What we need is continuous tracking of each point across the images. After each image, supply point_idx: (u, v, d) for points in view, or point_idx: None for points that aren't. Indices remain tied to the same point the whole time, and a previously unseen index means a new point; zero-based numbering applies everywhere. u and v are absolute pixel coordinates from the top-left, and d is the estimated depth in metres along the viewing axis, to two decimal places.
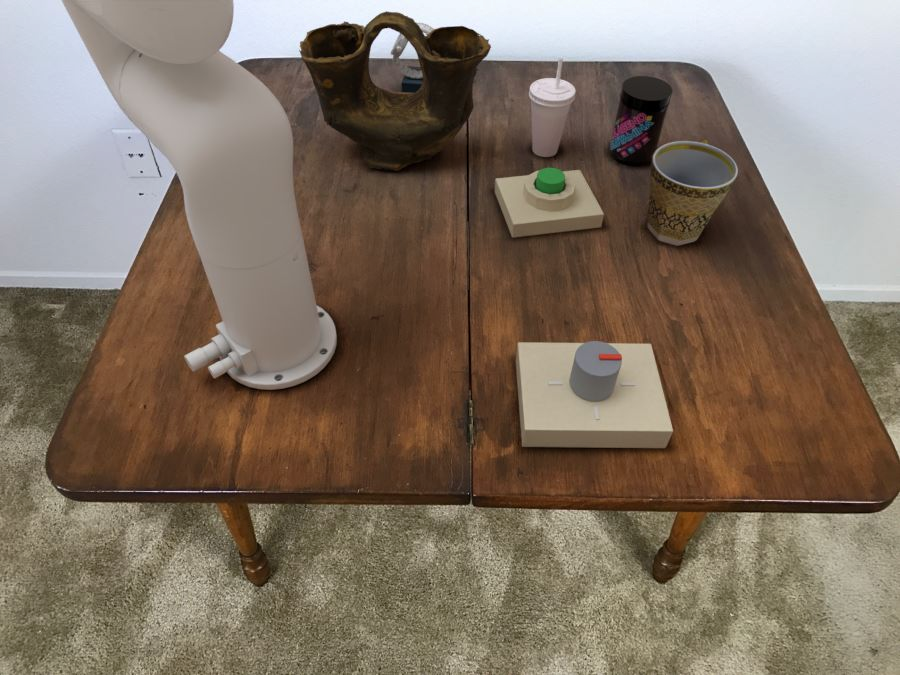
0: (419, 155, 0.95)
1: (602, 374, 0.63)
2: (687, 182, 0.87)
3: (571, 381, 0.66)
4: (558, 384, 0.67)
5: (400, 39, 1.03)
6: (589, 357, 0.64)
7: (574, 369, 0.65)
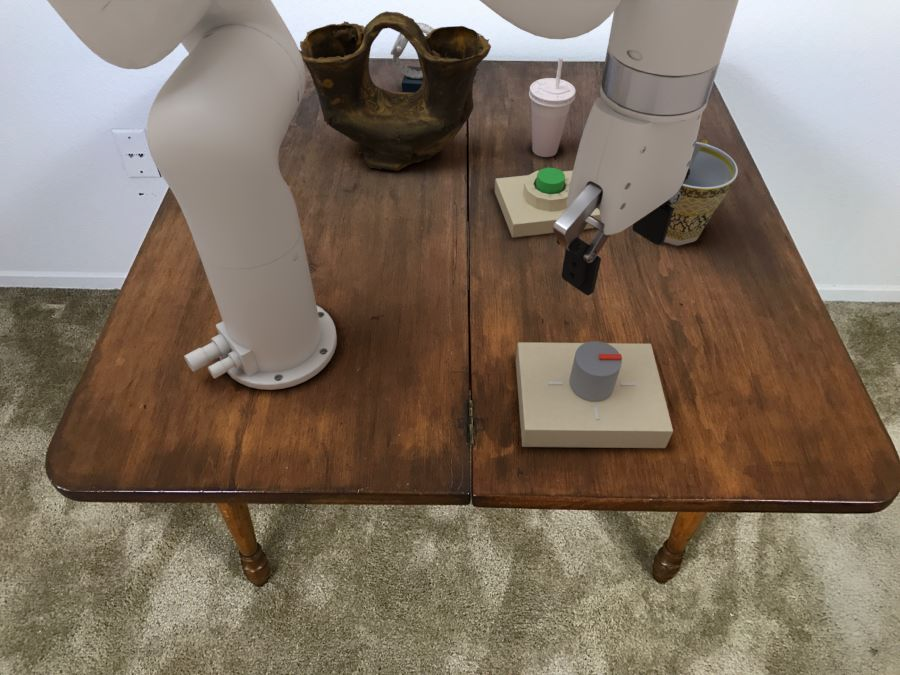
0: (419, 155, 0.95)
1: (602, 374, 0.63)
2: (687, 182, 0.87)
3: (571, 381, 0.66)
4: (558, 384, 0.67)
5: (400, 39, 1.03)
6: (589, 357, 0.64)
7: (574, 369, 0.65)
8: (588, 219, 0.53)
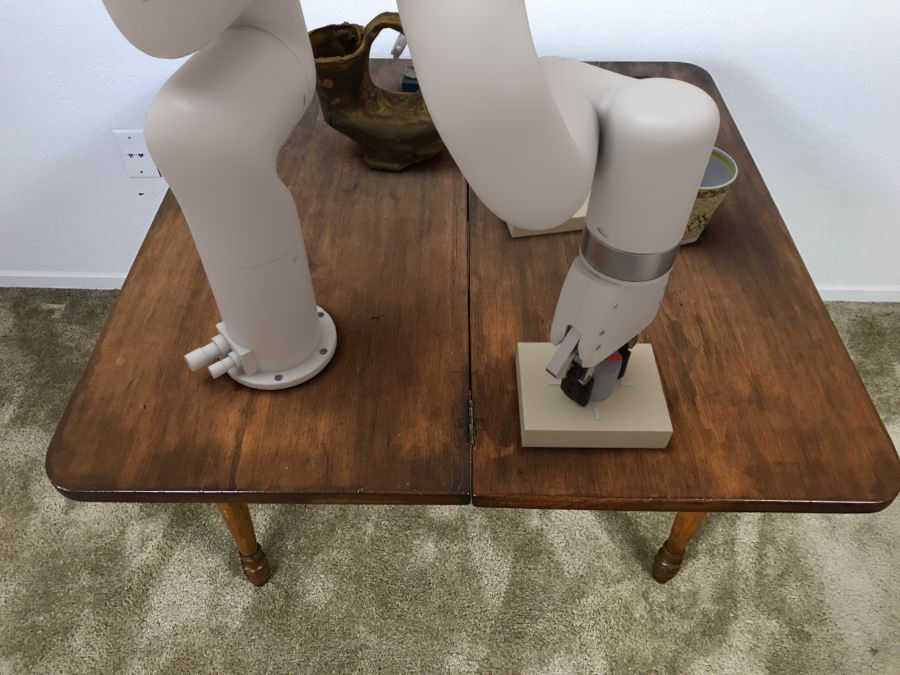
0: (419, 155, 0.95)
1: (602, 374, 0.63)
2: None
3: None
4: (558, 384, 0.67)
5: (400, 39, 1.03)
6: None
7: None
8: (576, 351, 0.61)
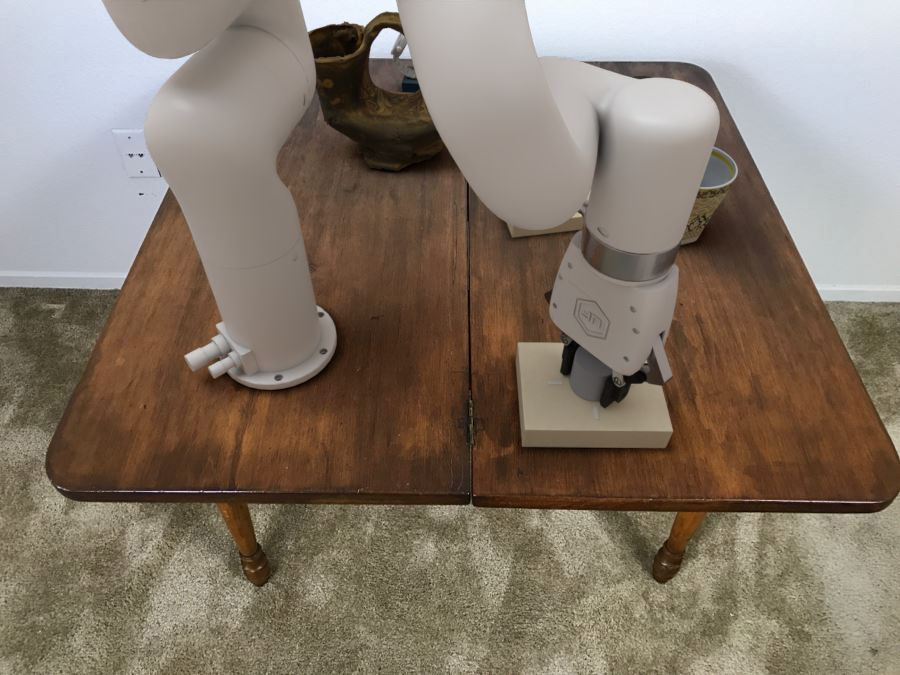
0: (419, 155, 0.95)
1: None
2: None
3: (600, 396, 0.65)
4: (558, 384, 0.67)
5: (400, 39, 1.03)
6: (599, 365, 0.64)
7: (603, 383, 0.64)
8: None
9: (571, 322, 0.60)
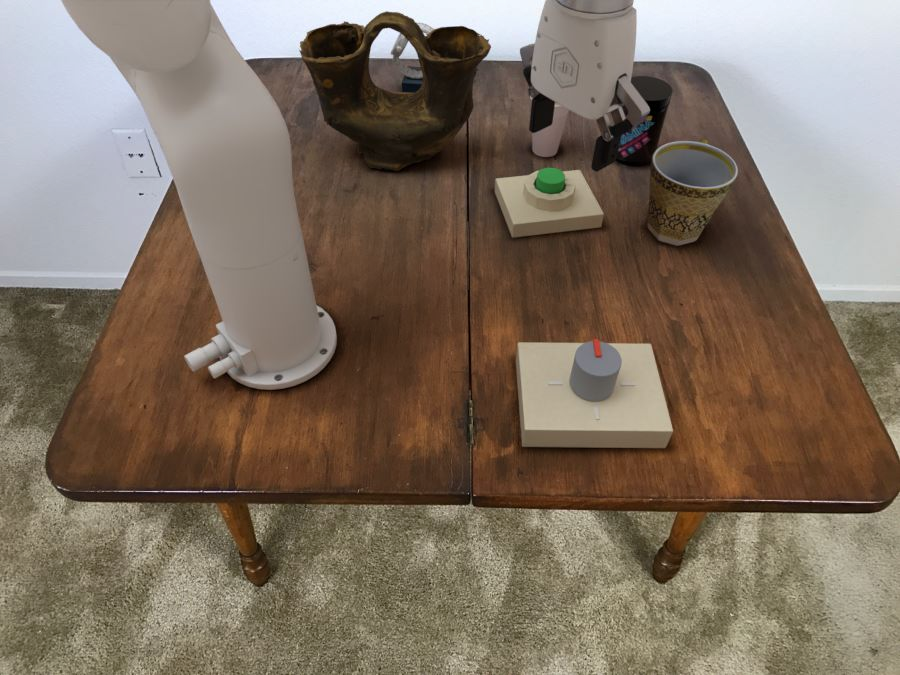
0: (419, 155, 0.95)
1: (619, 357, 0.64)
2: (687, 182, 0.87)
3: (599, 396, 0.65)
4: (558, 384, 0.67)
5: (400, 39, 1.03)
6: (599, 365, 0.64)
7: (603, 383, 0.64)
8: (609, 109, 0.69)
9: (548, 80, 0.70)
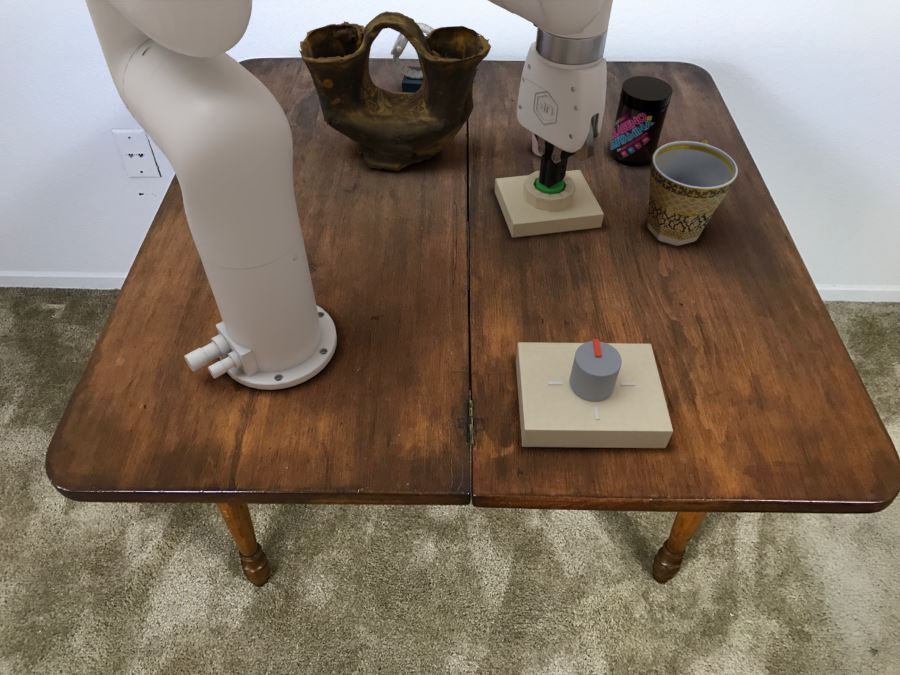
0: (419, 155, 0.95)
1: (619, 357, 0.64)
2: (687, 182, 0.87)
3: (599, 396, 0.65)
4: (558, 384, 0.67)
5: (400, 39, 1.03)
6: (599, 365, 0.64)
7: (603, 383, 0.64)
8: None
9: (532, 117, 0.80)
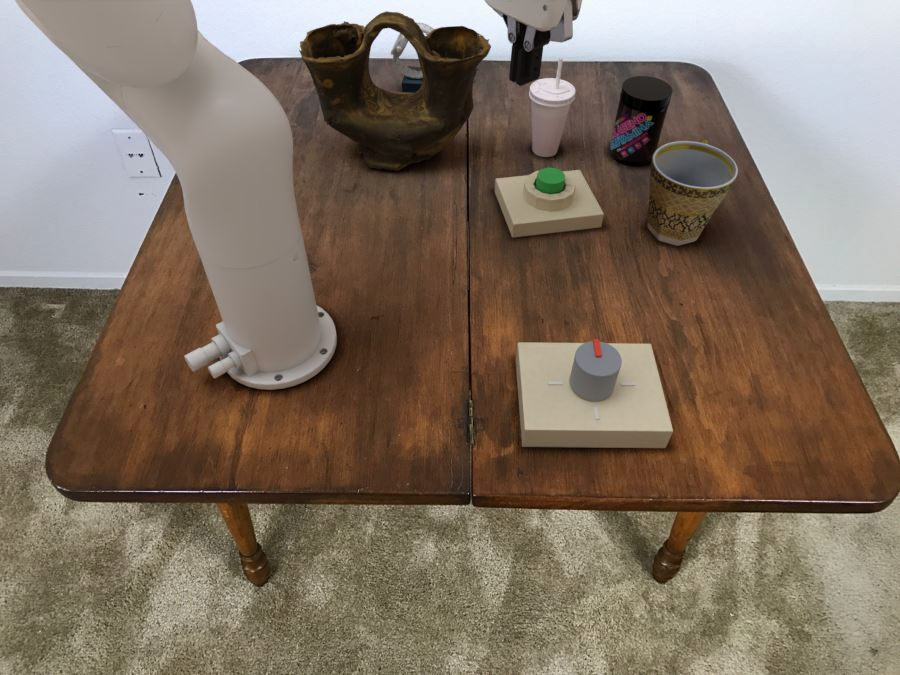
0: (419, 155, 0.95)
1: (619, 357, 0.64)
2: (687, 182, 0.87)
3: (599, 396, 0.65)
4: (558, 384, 0.67)
5: (400, 39, 1.03)
6: (599, 365, 0.64)
7: (603, 383, 0.64)
8: None
9: None
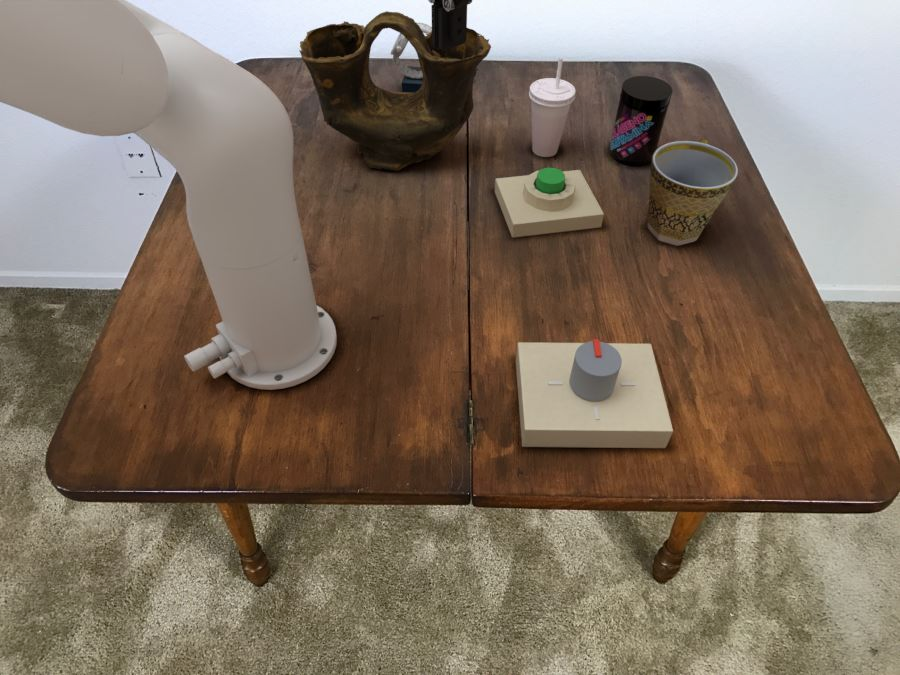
0: (419, 155, 0.95)
1: (619, 357, 0.64)
2: (687, 182, 0.87)
3: (599, 396, 0.65)
4: (558, 384, 0.67)
5: (400, 39, 1.03)
6: (599, 365, 0.64)
7: (603, 383, 0.64)
8: None
9: None
